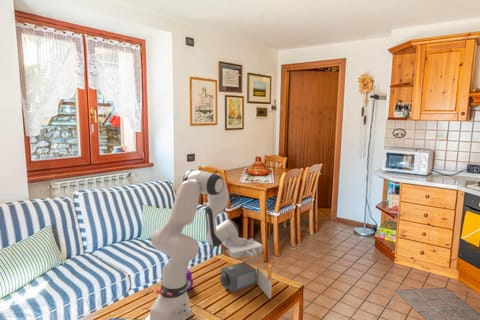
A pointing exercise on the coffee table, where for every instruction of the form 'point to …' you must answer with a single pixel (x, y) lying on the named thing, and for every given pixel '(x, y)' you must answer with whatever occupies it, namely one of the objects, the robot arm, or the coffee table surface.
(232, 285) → the gray box camera
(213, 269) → the coffee table surface
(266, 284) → the thin white panel
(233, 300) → the coffee table surface
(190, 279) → the toy camera
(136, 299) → the coffee table surface
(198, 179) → the robot arm
